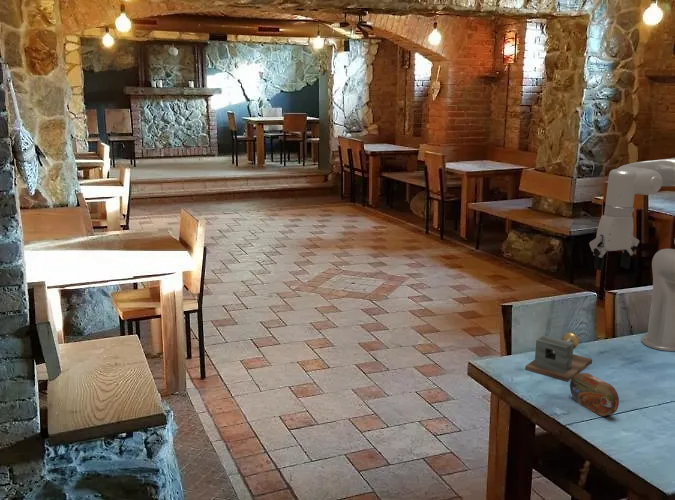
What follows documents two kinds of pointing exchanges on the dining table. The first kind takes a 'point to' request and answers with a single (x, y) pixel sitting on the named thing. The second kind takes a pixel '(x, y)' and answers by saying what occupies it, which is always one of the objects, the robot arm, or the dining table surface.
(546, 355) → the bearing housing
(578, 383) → the tin
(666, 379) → the dining table surface
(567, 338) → the shaft
